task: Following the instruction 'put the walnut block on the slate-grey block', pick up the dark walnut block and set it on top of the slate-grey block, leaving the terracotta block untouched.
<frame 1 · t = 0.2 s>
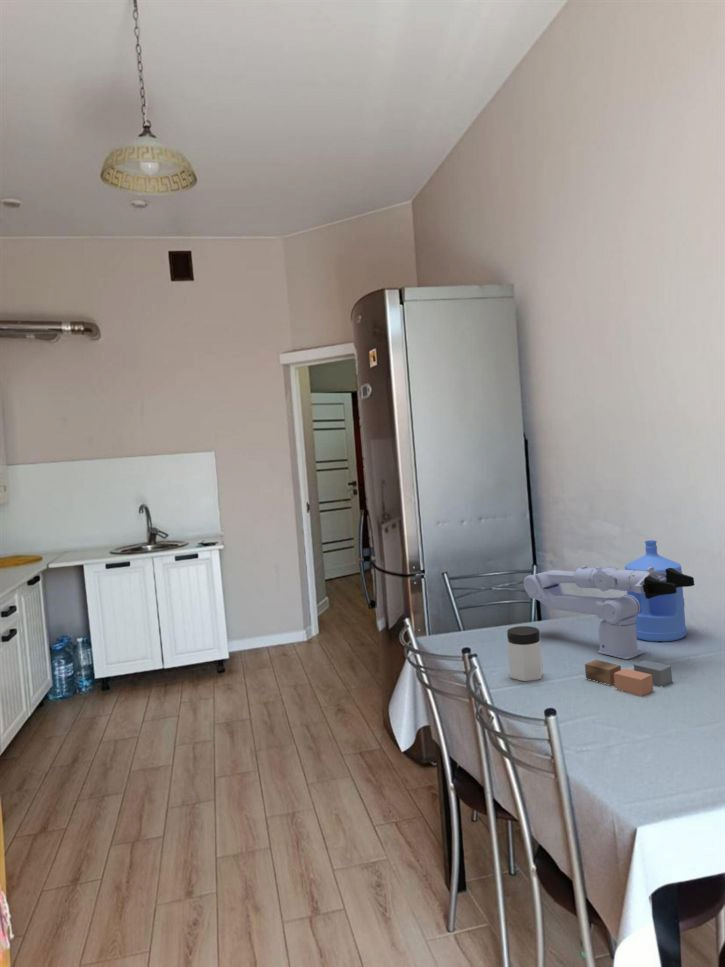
hand: (684, 585, 164), 21 cm above the table, tool horizontal, fingers open, 7 cm apart
jar: (526, 676, 171), on the table
grey block: (653, 681, 160), on the table
walnut block: (603, 680, 164), on the table
water jug: (657, 635, 196), on the table
terracotta block: (633, 690, 156), on the table
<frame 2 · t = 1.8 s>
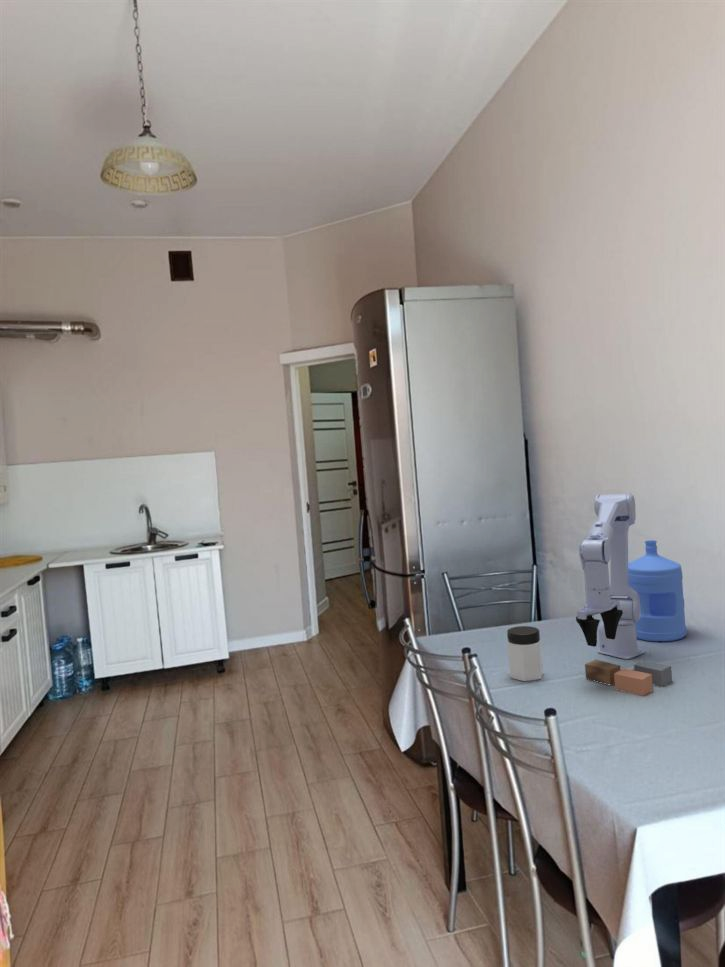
hand: (601, 642, 163), 9 cm above the table, tool pointing down, fingers open, 7 cm apart
nothing on the table moved.
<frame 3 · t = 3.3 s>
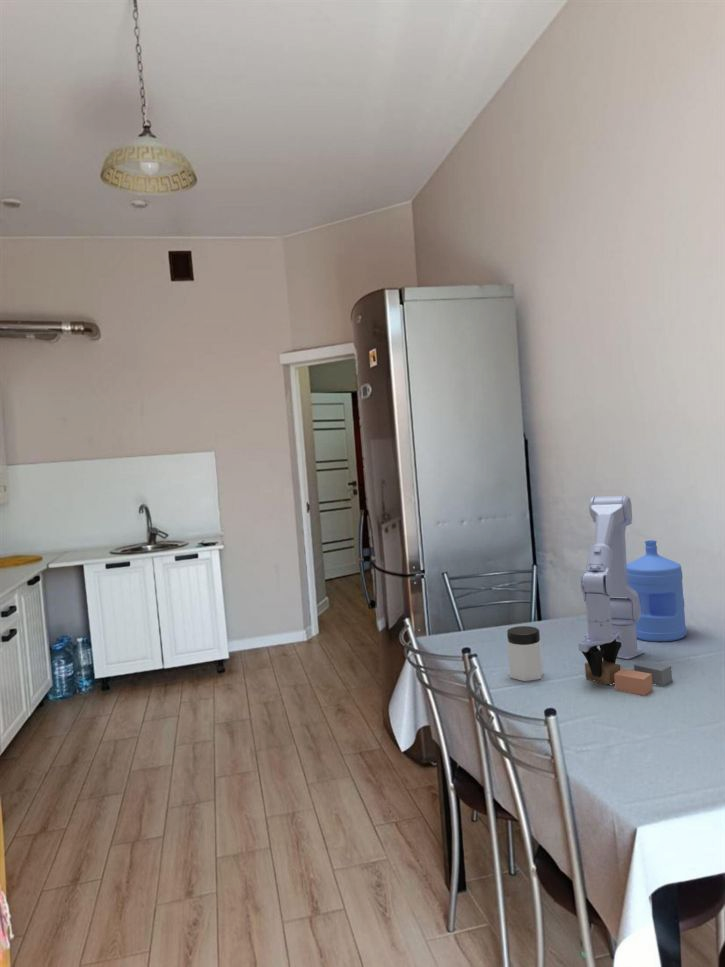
hand: (603, 673, 164), 2 cm above the table, tool pointing down, fingers closed on walnut block, 4 cm apart
walnut block: (603, 679, 164), on the table, touching gripper
everything else where it was.
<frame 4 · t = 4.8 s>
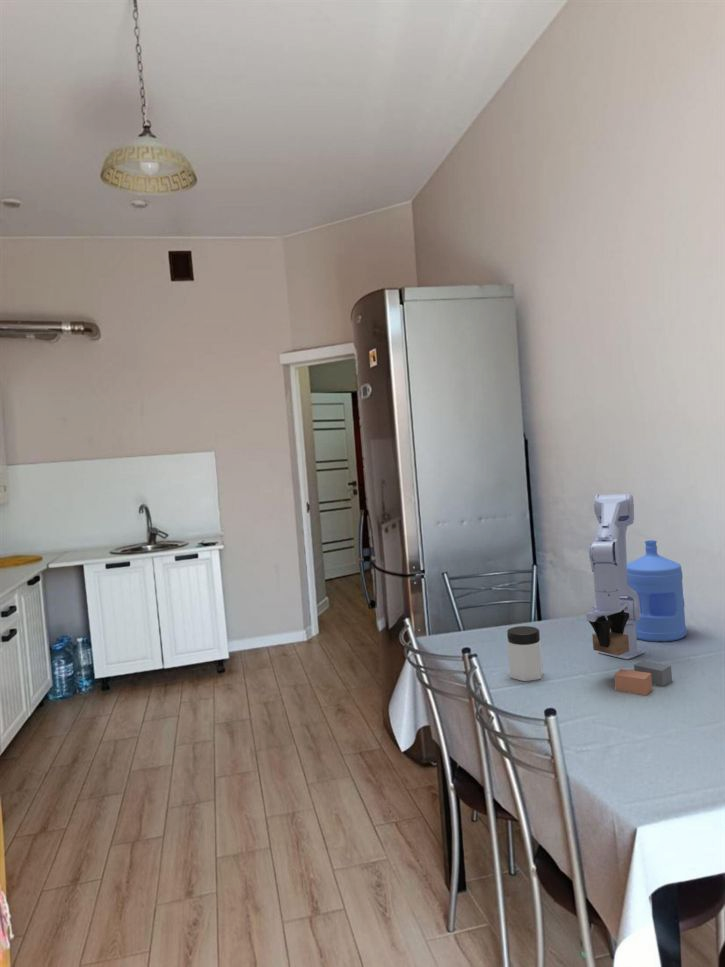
hand: (611, 644, 163), 9 cm above the table, tool pointing down, fingers closed on walnut block, 4 cm apart
walnut block: (611, 650, 163), point 7 cm above the table, touching gripper
everything else where it was.
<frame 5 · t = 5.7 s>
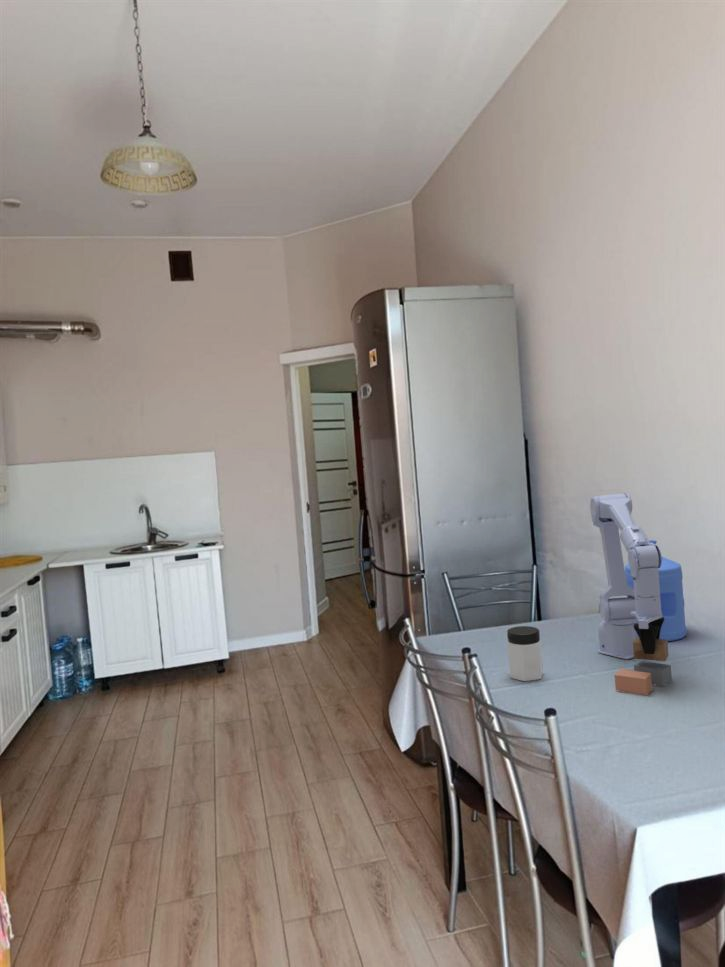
hand: (651, 650, 160), 7 cm above the table, tool pointing down, fingers closed on walnut block, 4 cm apart
walnut block: (651, 657, 160), point 6 cm above the table, touching gripper
everything else where it was.
when the fingers open (6 cm above the table, at t = 6.3 s): walnut block stays where it is, resting on grey block.
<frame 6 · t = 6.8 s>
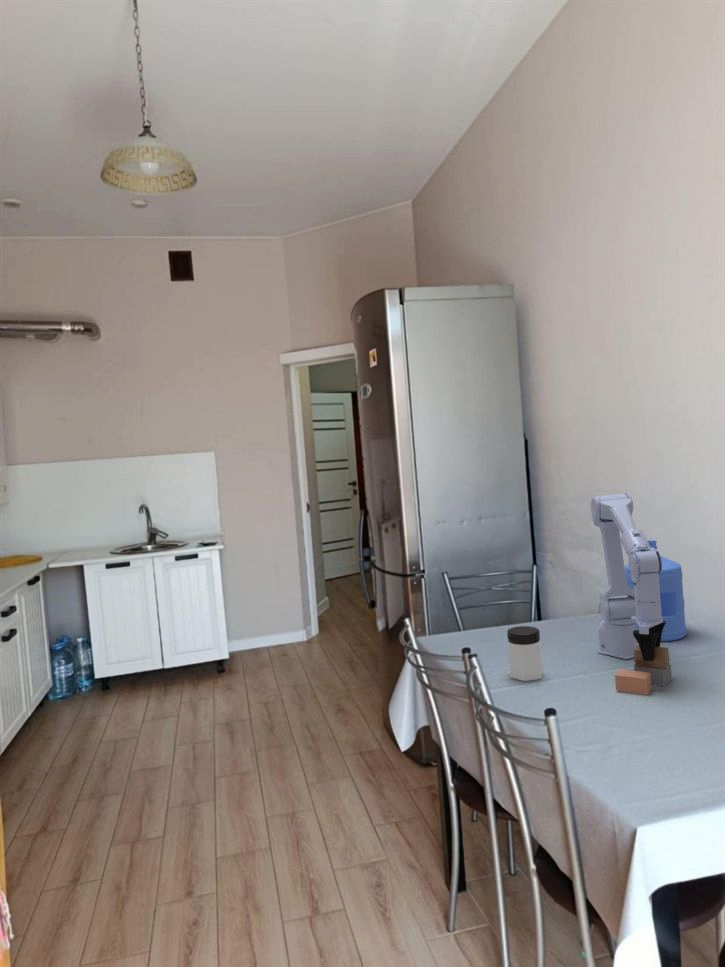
hand: (651, 655, 160), 6 cm above the table, tool pointing down, fingers open, 7 cm apart
grey block: (653, 681, 160), on the table, touching walnut block
walnut block: (652, 665, 160), point 4 cm above the table, touching grey block
everything else where it was.
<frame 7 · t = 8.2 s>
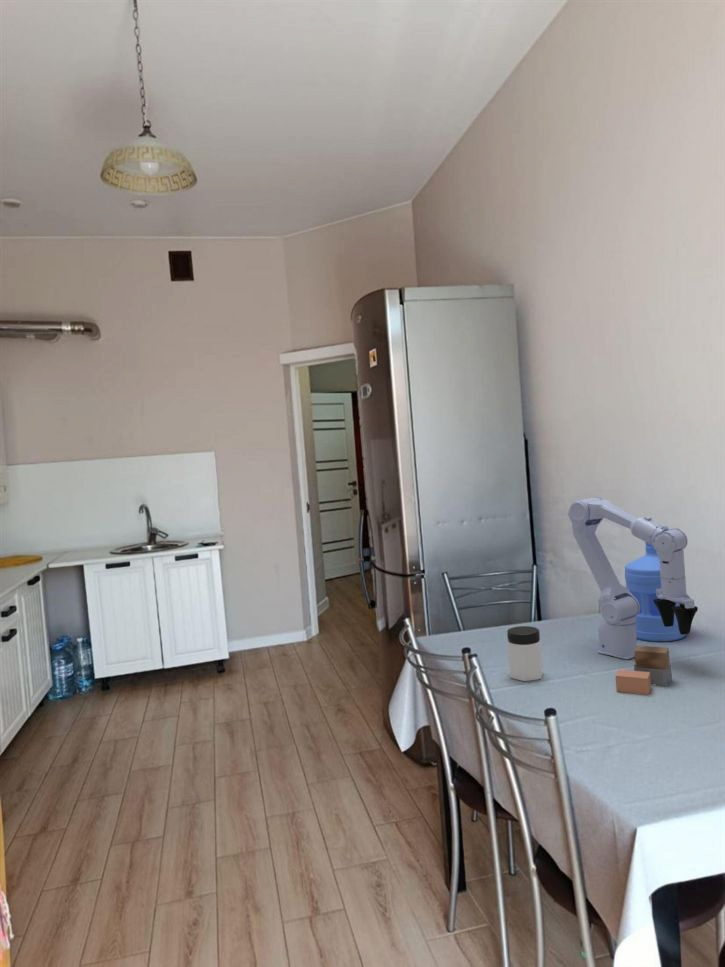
hand: (676, 630, 168), 9 cm above the table, tool pointing down, fingers open, 7 cm apart
grey block: (653, 681, 160), on the table
walnut block: (652, 665, 160), point 4 cm above the table
everything else where it was.
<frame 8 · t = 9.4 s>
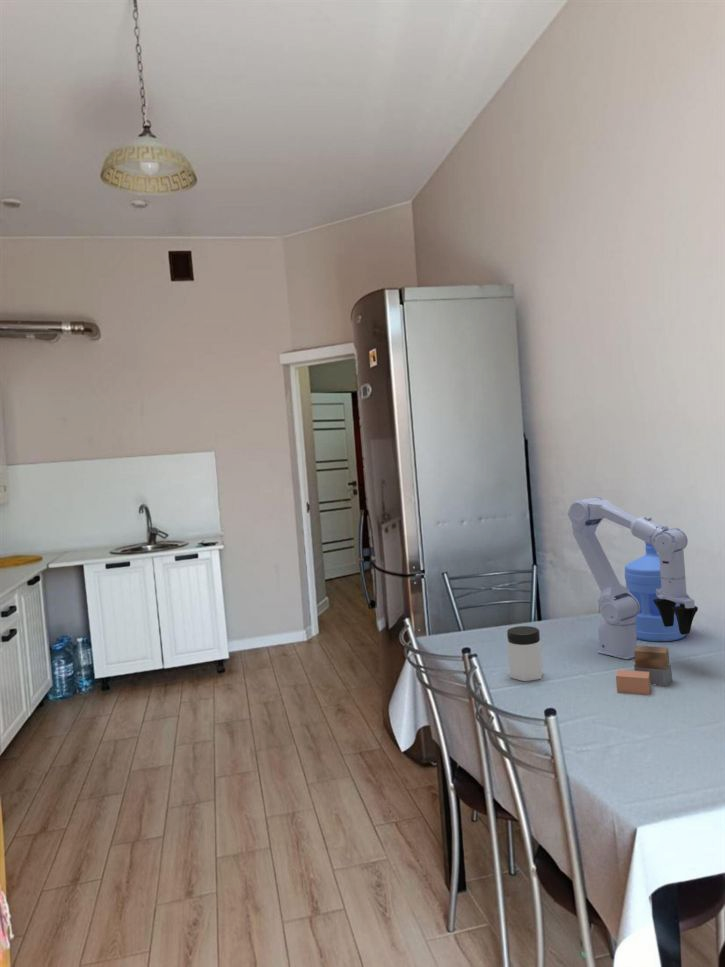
hand: (676, 629, 168), 9 cm above the table, tool pointing down, fingers open, 7 cm apart
grey block: (653, 681, 160), on the table, touching walnut block
walnut block: (652, 665, 160), point 4 cm above the table, touching grey block
everything else where it was.
at the end: walnut block 0.2 cm off-centre on the grey block, point 4.0 cm above the grey block's base; terracotta block moved 0.2 cm from its start; grey block moved 0.2 cm from its start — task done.
